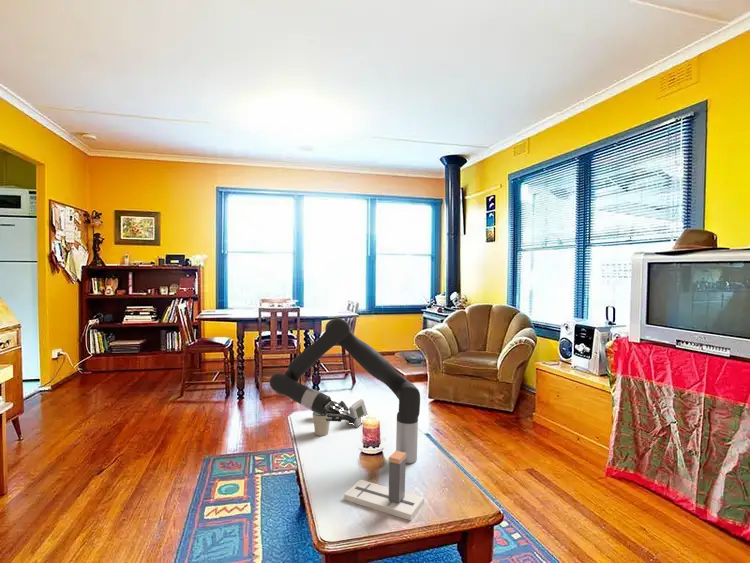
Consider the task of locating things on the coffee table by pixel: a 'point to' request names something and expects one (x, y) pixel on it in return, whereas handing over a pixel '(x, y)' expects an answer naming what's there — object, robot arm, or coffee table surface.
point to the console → (383, 499)
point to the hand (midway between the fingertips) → (355, 420)
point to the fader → (397, 476)
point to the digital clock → (358, 411)
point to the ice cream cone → (320, 424)
